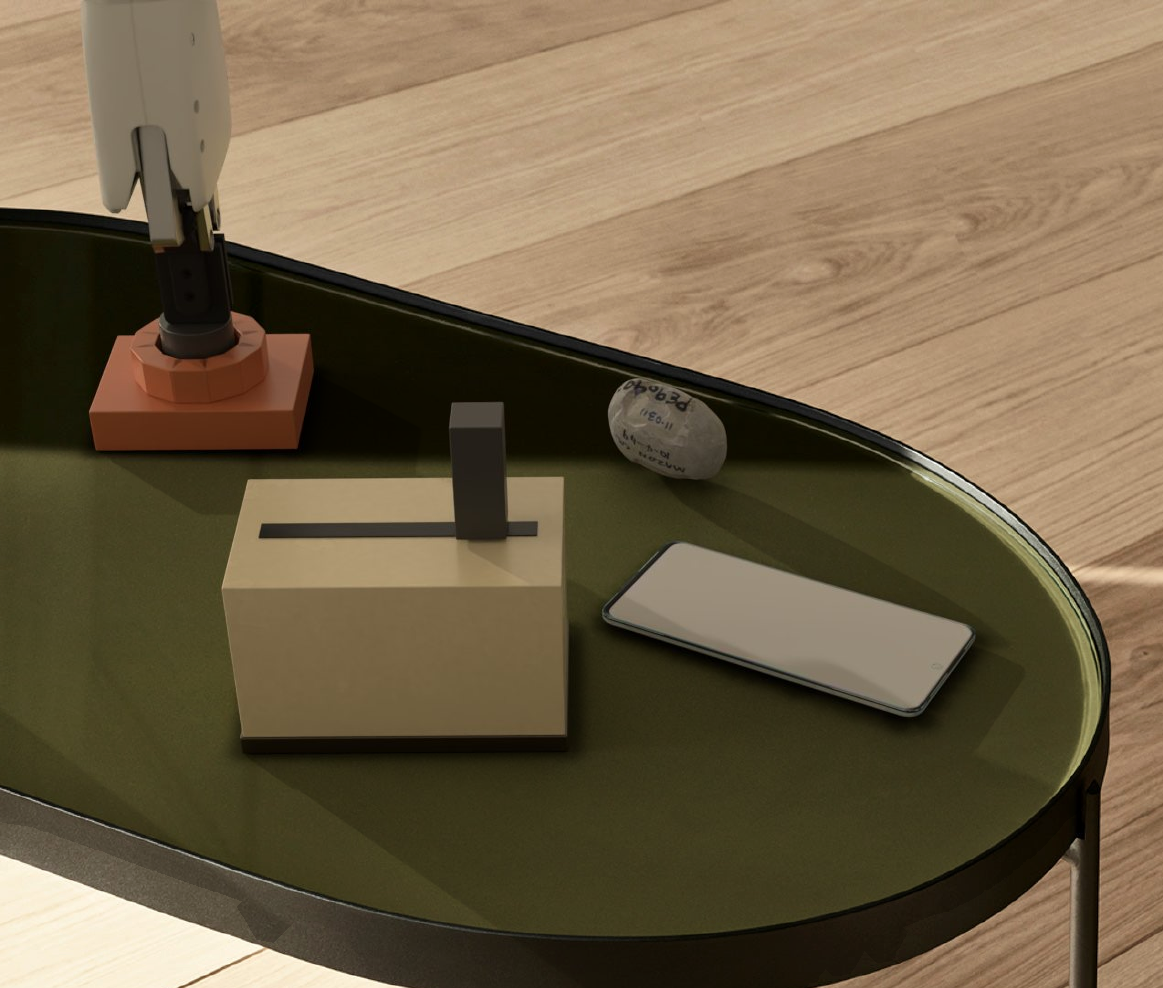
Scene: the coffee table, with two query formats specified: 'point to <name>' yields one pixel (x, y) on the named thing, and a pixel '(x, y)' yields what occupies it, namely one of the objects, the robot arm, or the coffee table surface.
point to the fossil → (667, 430)
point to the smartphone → (792, 627)
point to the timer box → (204, 393)
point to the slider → (479, 470)
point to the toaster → (397, 619)
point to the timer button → (196, 339)
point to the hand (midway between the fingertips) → (200, 315)
